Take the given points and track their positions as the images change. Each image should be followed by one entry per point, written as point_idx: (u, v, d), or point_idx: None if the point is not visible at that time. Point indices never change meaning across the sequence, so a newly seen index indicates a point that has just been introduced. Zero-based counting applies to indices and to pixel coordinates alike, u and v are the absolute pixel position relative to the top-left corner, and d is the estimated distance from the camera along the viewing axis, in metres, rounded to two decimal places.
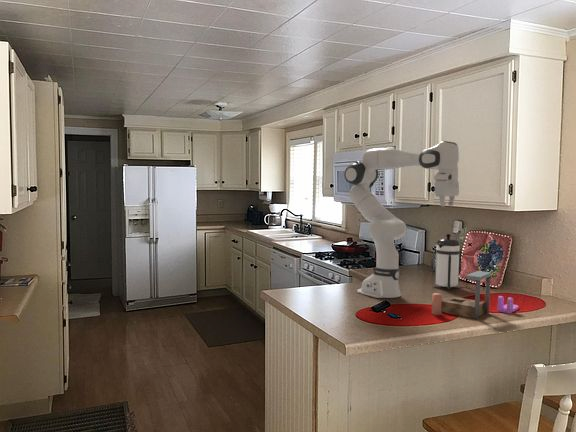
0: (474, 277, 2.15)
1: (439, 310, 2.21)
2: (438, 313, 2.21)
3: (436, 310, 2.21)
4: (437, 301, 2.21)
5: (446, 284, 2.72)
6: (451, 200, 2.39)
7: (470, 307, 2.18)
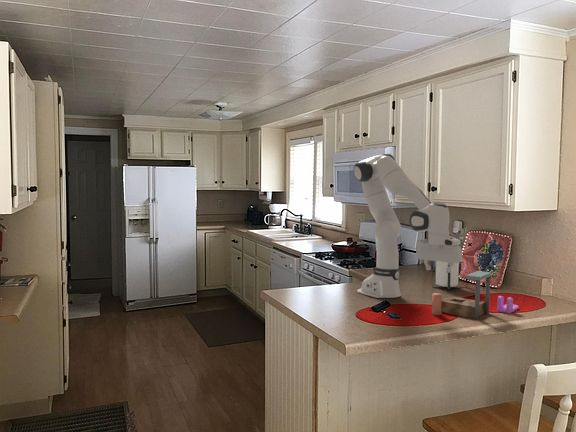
0: (474, 277, 2.15)
1: (439, 310, 2.21)
2: (438, 313, 2.21)
3: (436, 310, 2.21)
4: (437, 301, 2.21)
5: (446, 284, 2.72)
6: (427, 264, 2.25)
7: (470, 307, 2.18)
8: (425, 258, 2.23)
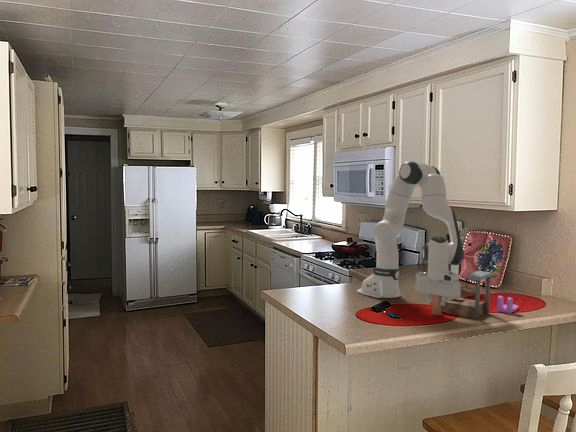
0: (474, 277, 2.15)
1: (439, 310, 2.21)
2: (438, 313, 2.21)
3: (436, 310, 2.21)
4: (437, 301, 2.21)
5: None
6: (430, 298, 2.25)
7: (470, 307, 2.18)
8: (424, 291, 2.25)
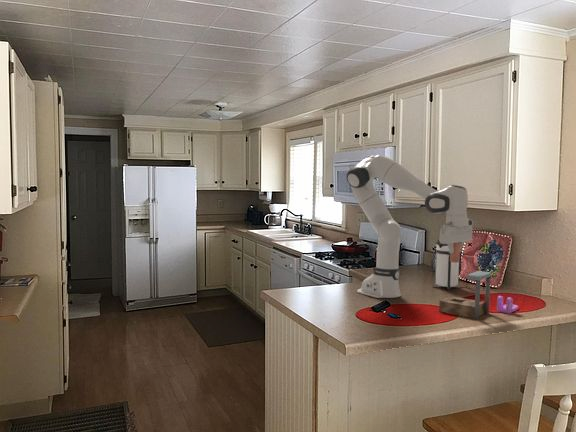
0: (474, 277, 2.15)
1: None
2: None
3: (459, 257, 2.24)
4: None
5: (446, 284, 2.72)
6: None
7: (470, 307, 2.18)
8: (452, 241, 2.20)
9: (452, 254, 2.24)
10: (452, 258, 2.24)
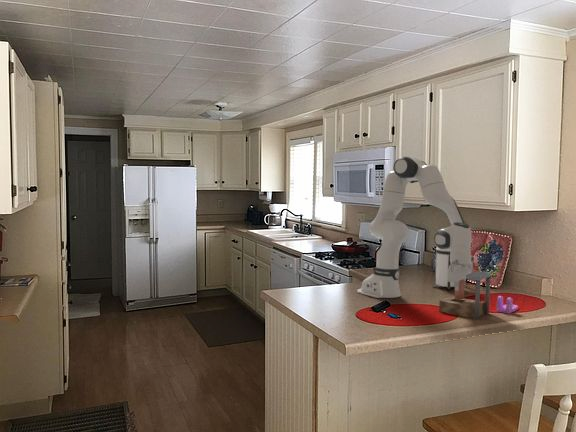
0: (474, 277, 2.15)
1: None
2: None
3: None
4: None
5: (446, 284, 2.72)
6: None
7: (470, 307, 2.18)
8: (459, 279, 2.23)
9: (457, 291, 2.27)
10: (457, 295, 2.27)
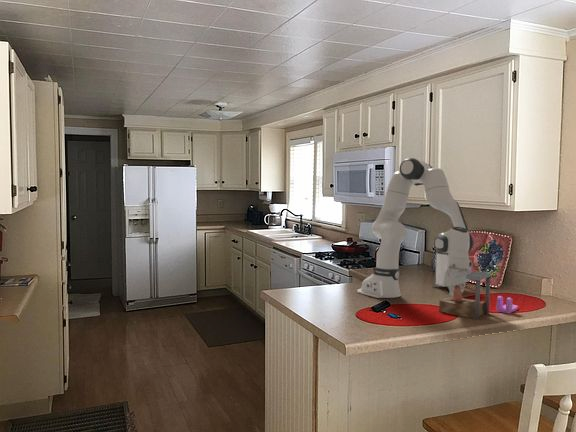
0: (474, 277, 2.15)
1: None
2: None
3: (462, 300, 2.27)
4: None
5: None
6: None
7: (470, 307, 2.18)
8: (455, 284, 2.22)
9: (455, 300, 2.26)
10: None
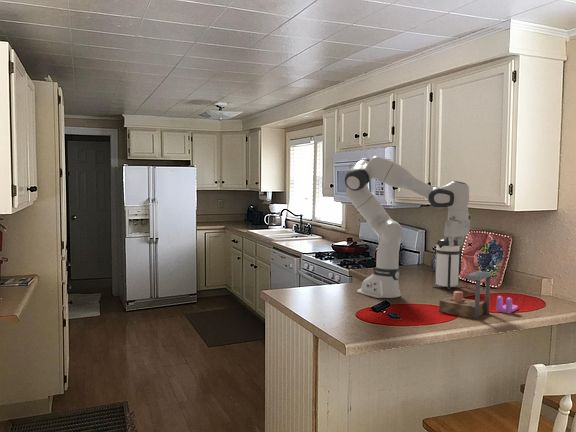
0: (474, 277, 2.15)
1: None
2: None
3: None
4: None
5: (446, 284, 2.72)
6: None
7: (470, 307, 2.18)
8: (455, 235, 2.29)
9: None
10: None
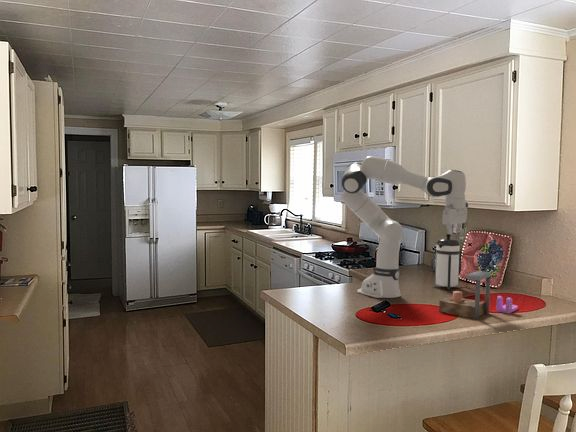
0: (474, 277, 2.15)
1: None
2: None
3: None
4: None
5: (446, 284, 2.72)
6: None
7: (470, 307, 2.18)
8: (453, 222, 2.34)
9: None
10: None
